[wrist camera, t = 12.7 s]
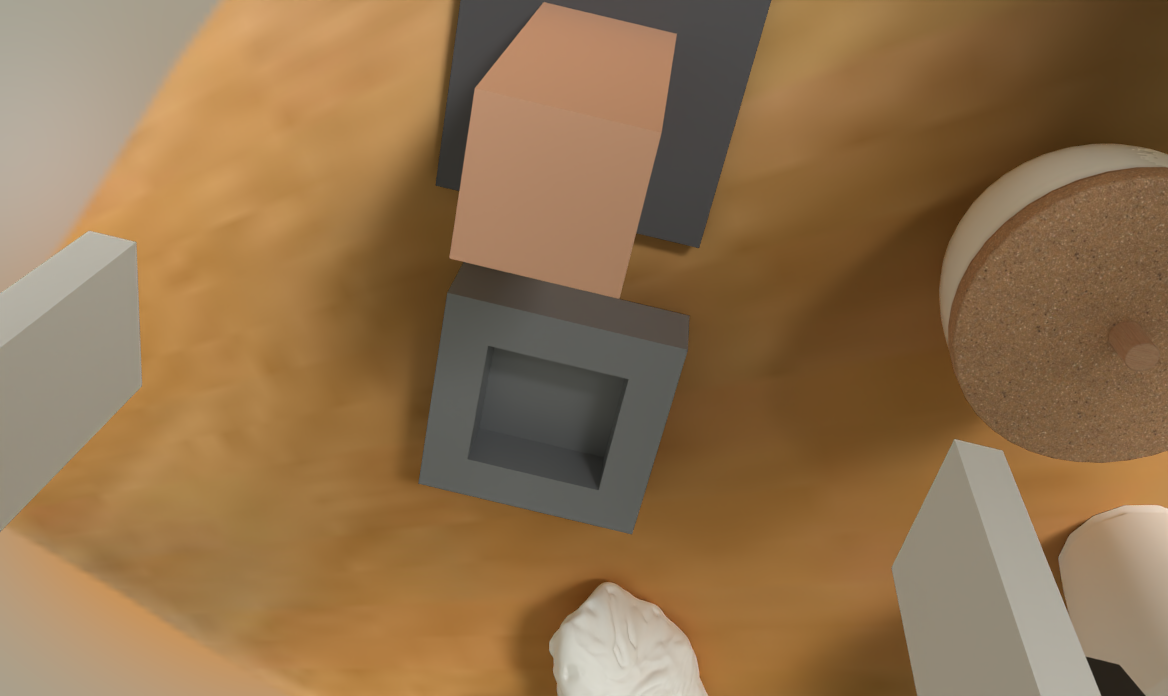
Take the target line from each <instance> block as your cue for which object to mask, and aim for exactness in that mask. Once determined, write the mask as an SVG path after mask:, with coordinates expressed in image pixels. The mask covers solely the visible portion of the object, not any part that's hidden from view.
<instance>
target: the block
mask: <svg viewBox="0 0 1168 696" xmlns="http://www.w3.org/2000/svg"><path fill="white" fill-rule="evenodd" d="M676 36H677V34H675V33H671V32H667V31H663V30H659V29H654V28H650V27H646V26H642V25H638V24H634V23H629V22H625V21H621V20H617V19H613V18H608V17H604V16H600V15H596V14H592V13H587V12H583V11H579V10H575V9H571V8H567V7H562V6H558V5H554V4H550V3H546V2H543V4H542V5H541V6H540V7H539V9H538V10H537V11H536V12H535V14H534V15H533V16H532V17H531V19H530V20H529V21H528V22H527V24H526V25H525V26H524V27H523V29H522V30H521V31H520V32H519V34H518V35H517V36H516V37H515V39H514V40H513V41H512V42H511V44H510V45H509V46H508V47H507V49H506V50H505V51H504V52H503V54H502V55H501V56H500V57H499V59H498V60H497V61H496V62H495V64H494V65H493V66H492V67H491V69H490V70H489V71H488V72H487V74H486V75H485V76H484V77H483V79H482V80H481V81H480V82H479V84H478V85H477V86H476V87H475V91H474V97H473V104H472V111H471V117H470V124H469V131H468V137H467V144H466V151H465V157H464V164H463V171H462V177H461V184H460V191H459V197H458V204H457V211H456V217H455V224H454V231H453V237H452V244H451V251H450V257H449V258H450V259H454V260H458V261H462V262H467V263H471V264H475V265H479V266H483V267H488V268H492V269H496V270H500V271H504V272H509V273H513V274H517V275H521V276H525V277H530V278H534V279H538V280H542V281H546V282H551V283H555V284H559V285H563V286H567V287H572V288H576V289H580V290H584V291H588V292H593V293H597V294H601V295H605V296H609V297H614V298H618V299H620V295H621V291H622V287H623V283H624V279H625V275H626V271H627V267H628V263H629V259H630V255H631V251H632V248H633V244H634V240H635V236H636V232H637V228H638V224H639V220H640V216H641V212H642V208H643V204H644V200H645V196H646V192H647V188H648V184H649V180H650V176H651V173H652V169H653V165H654V161H655V157H656V153H657V149H658V145H659V141H660V137H661V133H662V127H663V120H664V114H665V107H666V101H667V94H668V88H669V81H670V75H671V69H672V62H673V56H674V49H675V43H676Z"/></svg>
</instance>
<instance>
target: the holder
mask: <svg viewBox="0 0 1168 696" xmlns="http://www.w3.org/2000/svg"><path fill="white" fill-rule="evenodd" d="M688 336H689V316H688V315H684V314H680V313H676V312H672V311H667V310H663V309H659V308H655V307H651V306H646V305H642V304H638V303H634V302H630V301H625V300H621V299H617V298H613V297H609V296H604V295H600V294H596V293H592V292H588V291H583V290H579V289H575V288H571V287H567V286H562V285H558V284H554V283H550V282H546V281H541V280H537V279H533V278H529V277H525V276H520V275H516V274H512V273H508V272H504V271H499V270H495V269H491V268H487V267H483V266H478V265H474V264H470V263H466V262H463V264H462V266H461V268H460V270H459V272H458V274H457V276H456V277H455V279H454V281H453V283H452V285H451V287H450V289H449V291H448V293H447V299H446V305H445V312H444V319H443V325H442V332H441V338H440V345H439V352H438V358H437V365H436V371H435V378H434V385H433V391H432V398H431V404H430V411H429V417H428V424H427V431H426V437H425V444H424V450H423V457H422V464H421V470H420V477H419V483H418V484H422V485H427V486H431V487H435V488H439V489H444V490H448V491H452V492H456V493H460V494H465V495H469V496H473V497H477V498H481V499H486V500H490V501H494V502H498V503H502V504H507V505H511V506H515V507H519V508H524V509H528V510H532V511H536V512H540V513H545V514H549V515H553V516H557V517H561V518H566V519H570V520H574V521H578V522H582V523H587V524H591V525H595V526H599V527H604V528H608V529H612V530H616V531H620V532H625V533H629V534H632V533H633V530H634V526H635V523H636V520H637V516H638V513H639V510H640V507H641V503H642V500H643V497H644V493H645V490H646V487H647V483H648V480H649V477H650V473H651V470H652V467H653V464H654V460H655V457H656V454H657V450H658V447H659V444H660V440H661V437H662V434H663V430H664V427H665V424H666V421H667V417H668V414H669V411H670V407H671V404H672V401H673V397H674V394H675V391H676V387H677V384H678V381H679V378H680V374H681V371H682V368H683V364H684V361H685V358H686V354H687V351H688Z"/></svg>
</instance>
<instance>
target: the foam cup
mask: <svg viewBox="0 0 1168 696" xmlns="http://www.w3.org/2000/svg"><path fill="white" fill-rule="evenodd" d="M1058 560H1059V567H1060V575H1061V580H1062V585H1063V591H1064V595H1065V599H1066V604H1067V608H1068V612H1069V616H1070V619H1071V622H1072V624H1073V627H1074V629H1075V632H1076V634H1077V637H1078V639H1079V642H1080V644H1081V647H1082V649H1083V652H1084V654H1085V656H1086V657H1090V658H1094V659H1098V660H1102V661H1106V662H1111V663H1115V664H1119V665H1120V666H1121V667H1122V668H1123V669H1124V671H1125V672H1126V673H1127V674H1128V675H1129V677H1130V678H1131V679H1132V680H1133V681H1134V683H1135V684H1136V685H1137V686H1138V687H1139V688H1140V690H1141V691H1142V692H1143V693H1144V694H1145V696H1168V509H1167V508H1164V507H1162V506H1159V505H1124V506H1121V507H1118V508H1116V509H1113V510H1110V511H1107V512H1104V513H1101V514H1098V515H1095V516H1092V517H1091V518H1090V519H1089V520H1087V521H1086V522H1085V523H1084V524H1082V525H1081V526H1080V527H1079V528H1077V529H1076V530H1075V531H1074V532H1072V533H1071V534H1070V535H1069V536H1068V539H1067V541H1066V543H1065V545H1064V547H1063V549H1062V551H1061V553H1060V555H1059V557H1058Z"/></svg>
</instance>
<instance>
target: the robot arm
mask: <svg viewBox="0 0 1168 696" xmlns="http://www.w3.org/2000/svg"><path fill="white" fill-rule="evenodd" d="M141 387H142V372H141V347H140V322H139V297H138V272H137V247H136V242H134V241H130V240H126V239H121V238H117V237H113V236H109V235H105V234H101V233H96V232H92V231H88V232H86V233H85V234H84V235H82V236H81V237H79V238H78V239H77V240H75V241H74V242H72V243H71V244H69V245H68V246H67V247H65V248H64V249H62V250H61V251H59V252H58V253H57V254H55V255H54V256H52V257H51V258H49V259H48V260H47V261H45V262H44V263H42V264H41V265H40V266H38V267H37V268H35V269H34V270H32V271H31V272H30V273H28V274H27V275H25V276H24V277H22V278H21V279H20V280H18V281H17V282H15V283H14V284H13V285H11V286H10V287H8V288H7V289H5V290H4V291H3V292H1V293H0V532H1V531H2V530H3V529H4V528H5V526H6V525H7V524H8V523H9V522H10V521H11V520H12V519H13V518H14V517H15V516H16V515H17V514H18V513H19V512H20V511H21V510H22V509H23V508H24V507H25V506H26V505H27V504H28V503H29V502H30V501H31V500H32V499H33V498H34V497H35V496H36V495H37V494H38V493H39V492H40V490H41V489H42V488H43V487H44V486H45V485H46V484H47V483H48V482H49V481H50V480H51V479H52V478H53V477H54V476H55V475H56V474H57V473H58V472H59V471H60V470H61V469H62V468H63V467H64V466H65V465H66V464H67V463H68V462H69V461H70V460H71V459H72V458H73V457H74V455H75V454H76V453H77V452H78V451H79V450H80V449H81V448H82V447H83V446H84V445H85V444H86V443H87V442H88V441H89V440H90V439H91V438H92V437H93V436H94V435H95V434H96V433H97V432H98V431H99V430H100V429H101V428H102V427H103V426H104V425H105V424H106V423H107V422H108V421H109V419H110V418H111V417H112V416H113V415H114V414H115V413H116V412H117V411H118V410H119V409H120V408H121V407H122V406H123V405H124V404H125V403H126V402H127V401H128V400H129V399H130V398H131V397H132V396H133V395H134V394H135V393H136V392H137V391H138V390H139V389H140V388H141ZM892 573H893V578H894V582H895V587H896V592H897V597H898V602H899V607H900V612H901V617H902V622H903V627H904V632H905V637H906V642H907V647H908V652H909V657H910V662H911V667H912V672H913V677H914V682H915V687H916V692H917V696H1145V694H1144V693H1143V692H1142V691H1141V690H1140V688H1139V687H1138V686H1137V685H1136V684H1135V683H1134V681H1133V680H1132V679H1131V678H1130V677H1129V675H1128V674H1127V673H1126V672H1125V671H1124V669H1123V668H1122V667H1121V666H1120V665H1119V664H1115V663H1111V662H1106V661H1102V660H1098V659H1094V658H1090V657H1086V656H1085V654H1084V652H1083V649H1082V647H1081V644H1080V642H1079V639H1078V637H1077V634H1076V632H1075V629H1074V627H1073V624H1072V622H1071V619H1070V617H1069V614H1068V612H1067V609H1066V607H1065V604H1064V602H1063V599H1062V597H1061V594H1060V592H1059V589H1058V587H1057V584H1056V582H1055V579H1054V577H1053V574H1052V572H1051V570H1050V567H1049V565H1048V562H1047V560H1046V557H1045V555H1044V552H1043V550H1042V547H1041V545H1040V542H1039V540H1038V537H1037V535H1036V532H1035V530H1034V527H1033V525H1032V522H1031V520H1030V517H1029V515H1028V512H1027V510H1026V507H1025V505H1024V502H1023V500H1022V497H1021V495H1020V492H1019V490H1018V487H1017V485H1016V482H1015V480H1014V477H1013V475H1012V472H1011V470H1010V467H1009V465H1008V463H1007V460H1006V458H1005V455H1004V453H1003V451H1002V450H998V449H994V448H990V447H985V446H981V445H977V444H973V443H969V442H965V441H961V440H956V439H954V441H953V443H952V445H951V447H950V449H949V451H948V453H947V455H946V457H945V459H944V462H943V464H942V466H941V468H940V470H939V472H938V474H937V476H936V478H935V480H934V482H933V484H932V486H931V488H930V490H929V492H928V494H927V496H926V498H925V500H924V502H923V504H922V506H921V508H920V510H919V513H918V515H917V517H916V519H915V521H914V523H913V525H912V527H911V529H910V531H909V533H908V535H907V537H906V539H905V541H904V543H903V545H902V547H901V549H900V551H899V553H898V555H897V557H896V559H895V562H894V564H893V566H892Z"/></svg>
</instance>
